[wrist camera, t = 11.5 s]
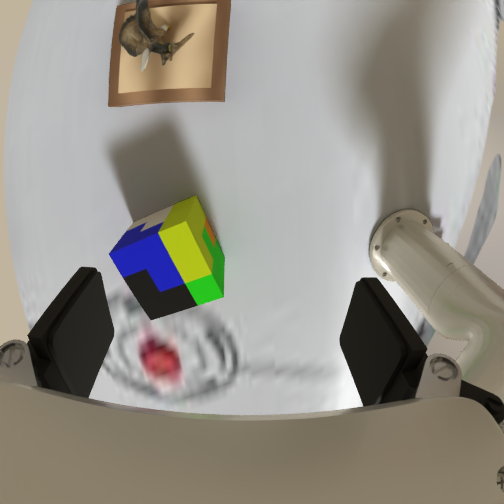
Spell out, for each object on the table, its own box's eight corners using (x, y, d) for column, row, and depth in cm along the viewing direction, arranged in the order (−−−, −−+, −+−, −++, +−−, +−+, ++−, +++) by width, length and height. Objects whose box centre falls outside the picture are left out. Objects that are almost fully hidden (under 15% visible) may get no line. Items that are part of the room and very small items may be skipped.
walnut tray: (230, 5, 27) (231, -6, 23) (224, 101, 33) (223, 99, 29) (125, 13, 26) (115, 4, 22) (118, 106, 32) (106, 106, 28)
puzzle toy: (133, 222, 39) (108, 253, 30) (196, 195, 38) (186, 221, 29) (164, 278, 44) (150, 320, 35) (224, 257, 43) (223, 297, 34)
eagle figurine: (209, 26, 24) (155, -18, 19) (181, 42, 20) (116, -9, 16) (169, 65, 29) (121, 26, 25) (139, 90, 25) (83, 45, 21)
